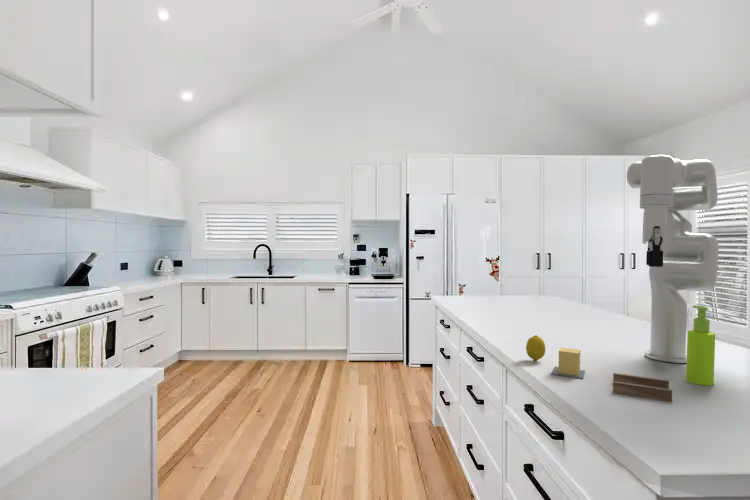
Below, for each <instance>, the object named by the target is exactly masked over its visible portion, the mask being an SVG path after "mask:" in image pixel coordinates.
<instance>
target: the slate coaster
mask: <svg viewBox="0 0 750 500" xmlns="http://www.w3.org/2000/svg"><path fill="white" fill-rule="evenodd" d="M585 373H586V370H585V369H580V372H579V375H571V374H564V373H558V366H554V367H553V369H552V371H551V373H550V375H551V376H558V377H559V376H560V377H565V378H572V379H580V380H584V377H585Z"/></svg>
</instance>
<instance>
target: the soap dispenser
mask: <svg viewBox="0 0 750 500" xmlns="http://www.w3.org/2000/svg"><path fill="white" fill-rule="evenodd" d="M692 308H693V309H697V317H695V318H693V330H687V335H686V355H687V363H686V371H685V372H686V375H685V376H686V377H685V378H686V379H685V380H686V382H688V383H690V384H693V385H699V386H708V387H709V386H714V385H715V383H714V382H715V358H716V357H715V354H716V351H715V349H716V334H715V333H714V332H711V331H710V319H708V318H707V317H706V316H707V314H706V313H707V311H709V307H707V306H705V305H692Z"/></svg>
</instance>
